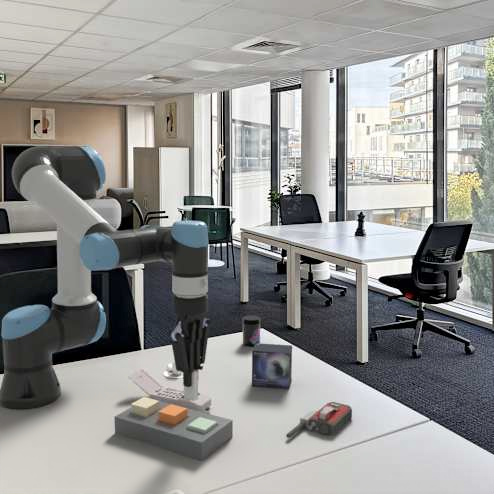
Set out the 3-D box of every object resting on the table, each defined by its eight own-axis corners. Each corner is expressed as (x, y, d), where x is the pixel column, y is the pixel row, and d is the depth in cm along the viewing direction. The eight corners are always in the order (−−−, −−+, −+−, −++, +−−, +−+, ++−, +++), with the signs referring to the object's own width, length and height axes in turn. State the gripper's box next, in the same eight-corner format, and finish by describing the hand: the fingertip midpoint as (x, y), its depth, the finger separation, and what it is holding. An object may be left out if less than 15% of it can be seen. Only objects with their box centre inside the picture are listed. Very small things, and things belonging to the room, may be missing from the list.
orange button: (158, 430, 133) (158, 411, 132) (171, 422, 137) (171, 404, 136) (175, 435, 130) (174, 416, 130) (187, 427, 134) (187, 408, 134)
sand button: (131, 422, 137) (130, 403, 136) (144, 414, 141) (143, 396, 140) (147, 427, 134) (146, 408, 134) (159, 419, 138) (159, 401, 138)
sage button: (187, 444, 129) (187, 425, 128) (200, 435, 133) (199, 417, 132) (205, 449, 127) (205, 430, 126) (217, 440, 131) (217, 421, 130)
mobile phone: (140, 368, 159) (219, 386, 147) (141, 389, 160) (220, 408, 148) (125, 376, 154) (206, 395, 142) (126, 397, 155) (206, 418, 143)
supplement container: (246, 347, 194) (246, 321, 193) (240, 342, 199) (240, 316, 198) (262, 345, 196) (262, 319, 195) (256, 340, 201) (256, 314, 200)
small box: (250, 387, 161) (251, 350, 160) (254, 378, 168) (255, 342, 166) (289, 389, 160) (290, 352, 158) (292, 380, 166) (292, 344, 164)
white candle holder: (166, 368, 176) (166, 355, 176) (193, 368, 176) (192, 355, 175) (161, 379, 168) (160, 365, 167) (188, 380, 167) (188, 366, 167)
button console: (115, 433, 135) (114, 416, 134) (149, 413, 145) (148, 397, 144) (202, 460, 123) (201, 442, 122) (232, 436, 133) (232, 420, 132)
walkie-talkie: (322, 408, 148) (283, 441, 132) (322, 392, 148) (283, 422, 131) (355, 417, 144) (318, 451, 127) (355, 399, 143) (319, 432, 126)
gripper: (186, 303, 119) (187, 413, 122) (221, 290, 130) (221, 391, 134) (157, 298, 122) (158, 405, 126) (193, 285, 133) (194, 385, 137)
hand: (191, 398), depth 130 cm, fingers closed
